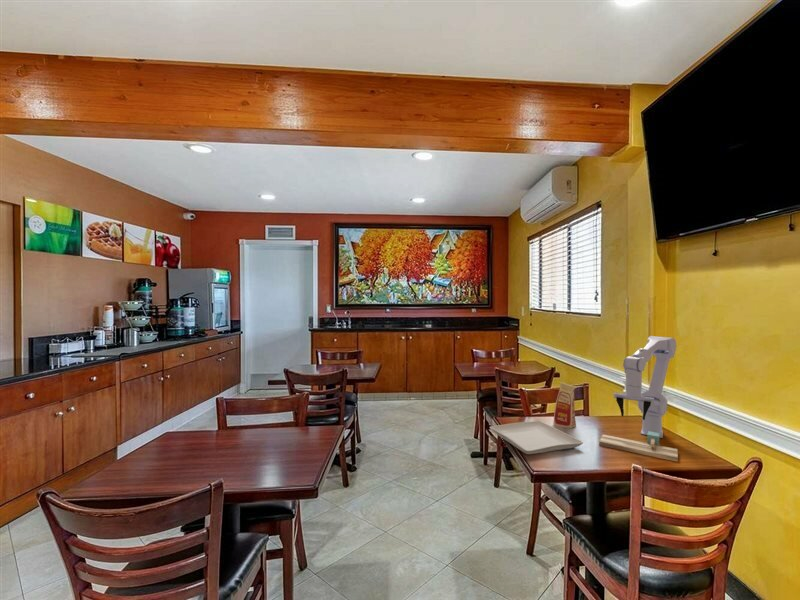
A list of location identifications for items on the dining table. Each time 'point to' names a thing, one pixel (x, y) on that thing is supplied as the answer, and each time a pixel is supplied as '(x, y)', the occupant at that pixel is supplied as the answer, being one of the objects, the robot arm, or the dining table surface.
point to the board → (639, 447)
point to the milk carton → (565, 407)
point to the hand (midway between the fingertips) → (633, 417)
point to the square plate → (535, 437)
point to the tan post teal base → (652, 438)
